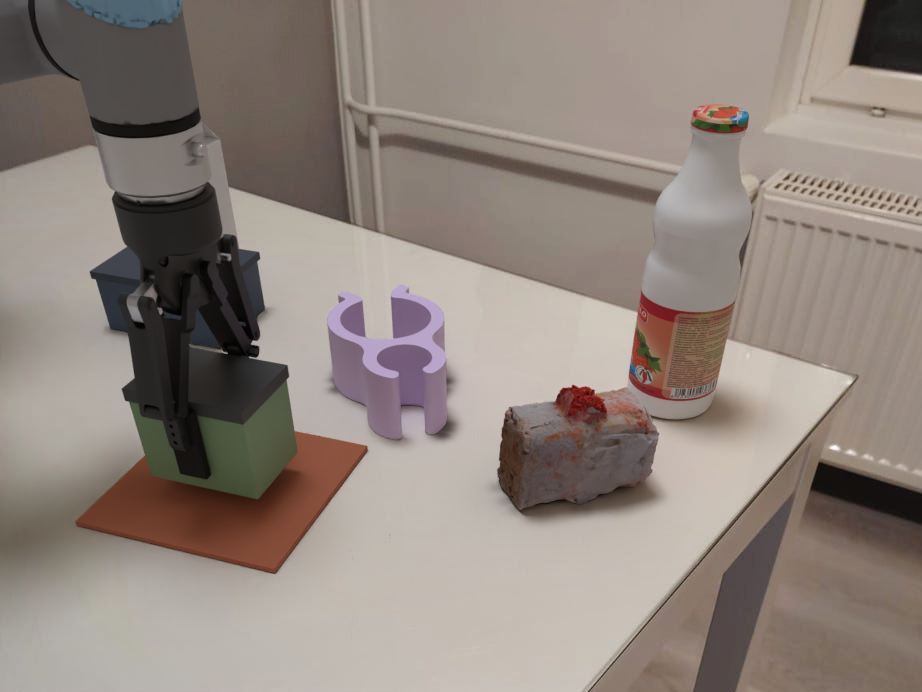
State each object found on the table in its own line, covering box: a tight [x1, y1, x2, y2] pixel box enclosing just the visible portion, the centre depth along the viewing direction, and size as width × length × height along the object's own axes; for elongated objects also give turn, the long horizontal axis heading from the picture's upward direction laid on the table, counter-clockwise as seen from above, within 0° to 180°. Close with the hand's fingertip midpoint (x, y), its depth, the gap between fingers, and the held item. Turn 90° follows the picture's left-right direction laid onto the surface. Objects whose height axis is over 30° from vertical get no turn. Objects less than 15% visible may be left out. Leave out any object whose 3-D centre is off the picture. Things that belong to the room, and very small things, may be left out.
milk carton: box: [201, 121, 241, 249], centre depth 114 cm, size 7×7×19 cm
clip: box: [326, 284, 448, 441], centre depth 96 cm, size 20×12×7 cm, turn 16°
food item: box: [496, 384, 660, 511], centre depth 83 cm, size 14×8×10 cm, turn 110°
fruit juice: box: [626, 103, 753, 420], centre depth 88 cm, size 9×9×28 cm
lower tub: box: [89, 246, 266, 349], centre depth 107 cm, size 16×12×7 cm
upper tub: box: [121, 346, 298, 499], centre depth 81 cm, size 11×8×9 cm
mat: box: [74, 430, 369, 574], centre depth 86 cm, size 20×20×1 cm
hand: (221, 447), depth 83 cm, fingers closed on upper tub, 8 cm apart
